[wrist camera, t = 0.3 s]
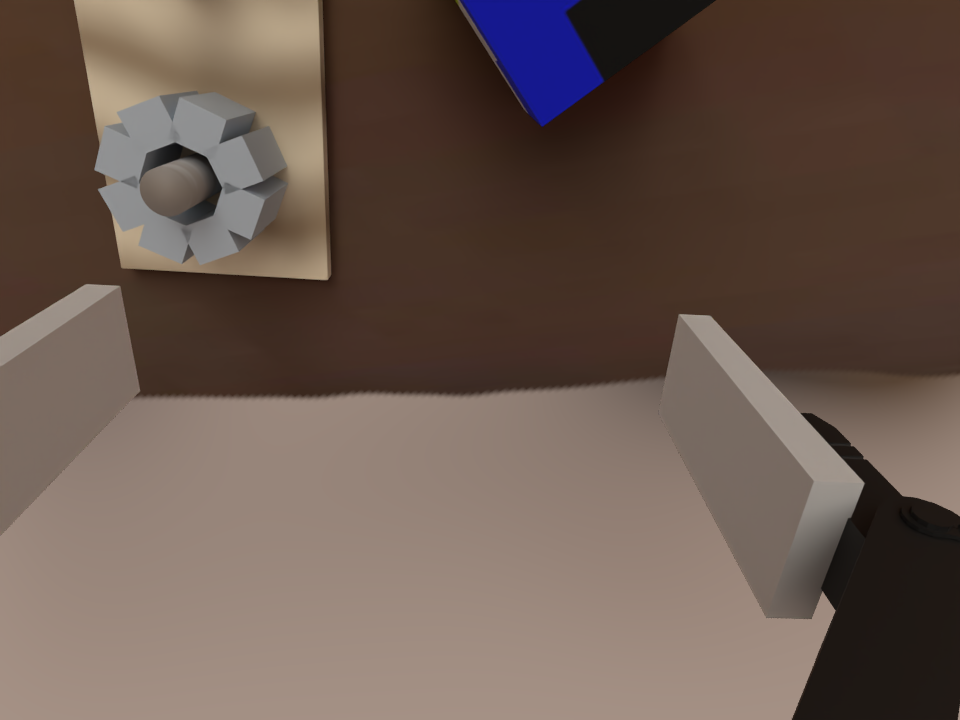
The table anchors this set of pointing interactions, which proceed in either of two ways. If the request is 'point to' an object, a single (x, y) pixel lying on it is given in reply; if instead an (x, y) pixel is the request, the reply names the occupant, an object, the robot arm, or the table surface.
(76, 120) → the table surface
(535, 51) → the puzzle toy
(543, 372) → the table surface
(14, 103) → the table surface
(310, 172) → the gear board
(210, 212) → the gear
